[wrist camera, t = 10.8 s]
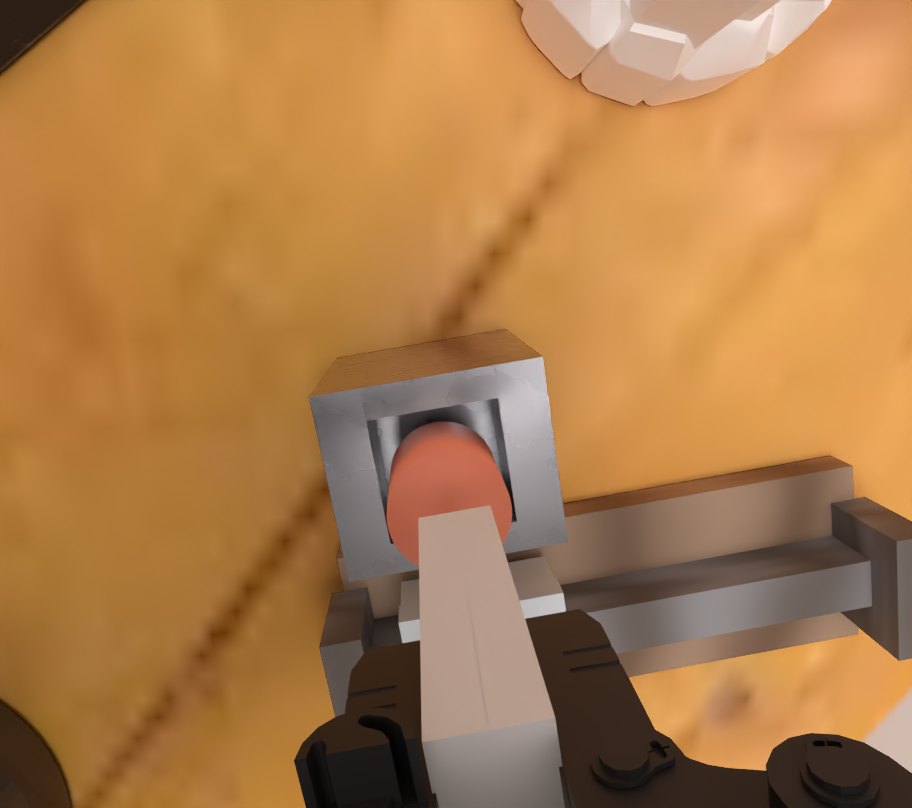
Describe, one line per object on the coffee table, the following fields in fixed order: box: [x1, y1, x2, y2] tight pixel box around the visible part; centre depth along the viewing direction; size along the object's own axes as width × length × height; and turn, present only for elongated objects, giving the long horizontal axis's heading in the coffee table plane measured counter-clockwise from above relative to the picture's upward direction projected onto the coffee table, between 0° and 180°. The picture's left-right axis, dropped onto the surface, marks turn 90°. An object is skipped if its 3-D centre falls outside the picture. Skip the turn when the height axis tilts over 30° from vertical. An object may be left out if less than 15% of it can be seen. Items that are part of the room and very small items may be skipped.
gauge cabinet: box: [309, 329, 568, 582], centre depth 25 cm, size 7×6×8 cm
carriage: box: [398, 556, 566, 643], centre depth 22 cm, size 6×6×14 cm
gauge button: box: [387, 421, 512, 566], centre depth 19 cm, size 3×3×4 cm
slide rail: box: [319, 456, 912, 717], centre depth 28 cm, size 23×8×6 cm, turn 99°
